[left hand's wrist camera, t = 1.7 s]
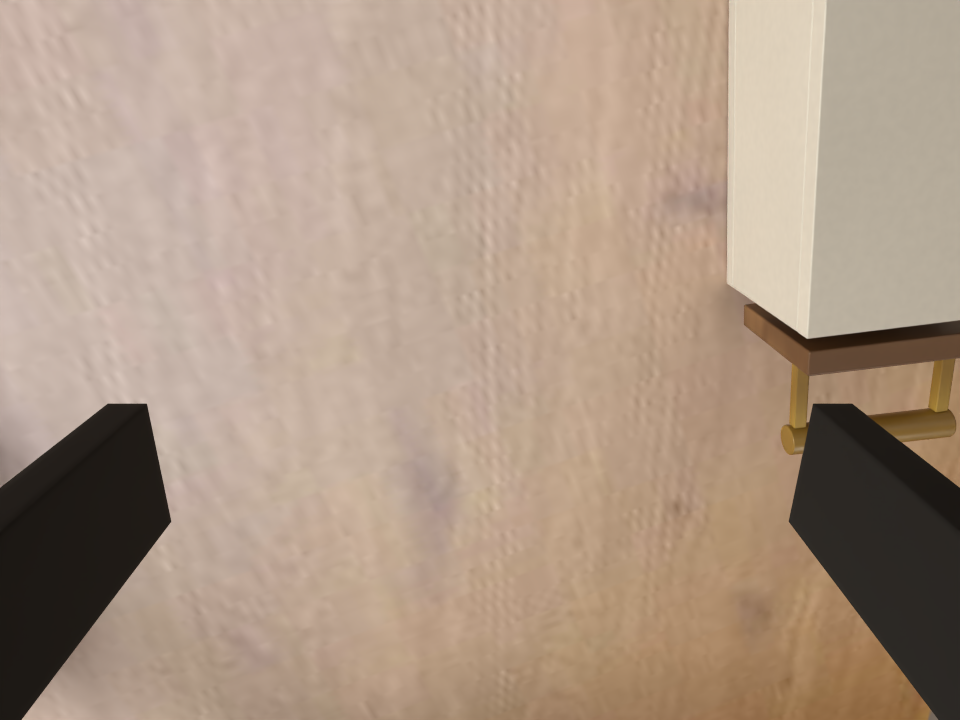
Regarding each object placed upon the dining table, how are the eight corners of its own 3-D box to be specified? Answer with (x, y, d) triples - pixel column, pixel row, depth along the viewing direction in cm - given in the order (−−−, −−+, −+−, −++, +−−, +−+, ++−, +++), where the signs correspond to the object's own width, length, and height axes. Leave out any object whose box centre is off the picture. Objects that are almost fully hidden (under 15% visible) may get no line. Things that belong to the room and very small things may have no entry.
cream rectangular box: (911, 260, 35) (1055, 309, 26) (726, 283, 35) (806, 339, 27) (956, -134, 29) (1165, -243, 20) (729, -99, 29) (836, -190, 20)
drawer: (896, 395, 37) (993, 460, 30) (741, 413, 37) (801, 482, 30) (947, -49, 29) (1094, -100, 22) (749, -20, 29) (832, -60, 22)
